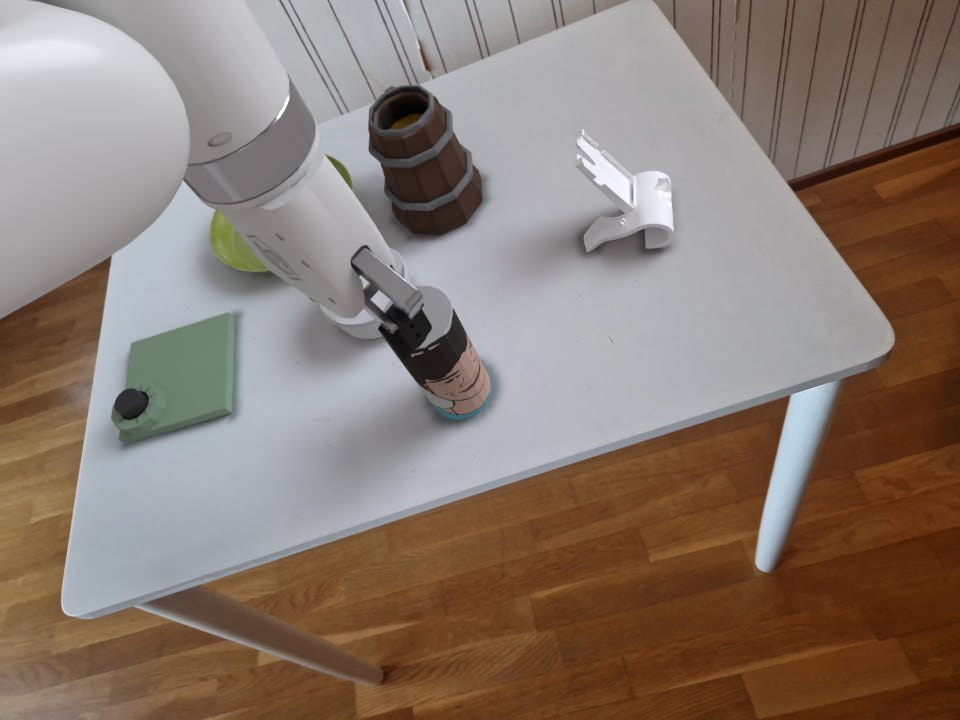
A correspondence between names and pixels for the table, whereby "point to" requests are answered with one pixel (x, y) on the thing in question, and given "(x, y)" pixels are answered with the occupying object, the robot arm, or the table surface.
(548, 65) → the table surface
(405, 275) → the ramekin
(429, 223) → the mug
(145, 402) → the button
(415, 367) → the cup
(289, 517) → the table surface
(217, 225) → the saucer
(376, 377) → the table surface
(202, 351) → the scale
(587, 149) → the plastic part
